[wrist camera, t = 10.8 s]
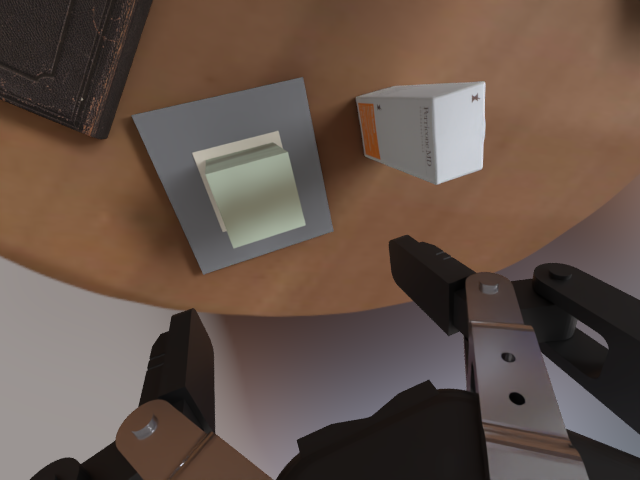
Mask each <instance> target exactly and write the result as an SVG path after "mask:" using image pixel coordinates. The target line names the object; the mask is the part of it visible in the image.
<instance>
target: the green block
mask: <svg viewBox="0 0 640 480" xmlns="http://www.w3.org/2000/svg"><path fill="white" fill-rule="evenodd" d="M205 175H206V178H207V180H208V183H209V186H210V188H211V191H212V193H213V196H214V199H215V201H216V204H217V207H218V209H219V212H220V214H221V217H222V220H223V222H224V225H225V227H226V230H227V233H228V235H229V238H230V241H231V243H232V246H233V248H237V247H240V246H243V245H246V244H249V243H252V242H255V241H259V240H262V239H265V238H268V237H271V236H274V235H277V234H280V233H283V232H286V231H289V230H292V229H296V228H299V227H302V226H305V225H306V224H305V220H304V216H303V212H302V208H301V204H300V199H299V195H298V191H297V187H296V183H295V179H294V175H293V171H292V167H291V163H290V159H289V155H288V152H287V151H286V150H284V149H283V148H281V147H279V146H278V145H276V144H275V143H273V142H272V143H268V144H265V145H261V146H257V147H253V148H249V149H246V150H242V151H238V152H234V153H230V154H227V155H223V156H219V157H215V158H211V159H208V160H206V170H205Z"/></svg>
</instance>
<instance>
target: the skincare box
mask: <svg viewBox="0 0 640 480" xmlns="http://www.w3.org/2000/svg"><path fill="white" fill-rule="evenodd" d="M356 103H357V108H358V115H359V121H360V127H361V134H362V141H363V149H364V156H365V157H367V158H370V159H372V160H375V161H377V162H380V163H382V164H385V165H387V166H390V167H392V168H395V169H398V170H400V171H403V172H405V173H408V174H410V175H413V176H415V177H418V178H420V179H423V180H425V181H428V182H430V183H433V184H435V185H437V184H440V183H443V182H446V181H449V180H452V179H455V178H458V177H461V176H464V175H467V174H470V173H473V172H476V171H479V170H481V169H482V167H483V143H484V138H485V82H484V81H481V82H469V83H445V84H424V85H407V86H392V87H389V88H385V89H381V90H378V91H374V92H371V93H368V94H364V95H361V96H357V97H356Z"/></svg>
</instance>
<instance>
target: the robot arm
mask: <svg viewBox="0 0 640 480" xmlns="http://www.w3.org/2000/svg"><path fill="white" fill-rule="evenodd" d="M389 253H390V263H391V272H392V276H393V278H394V281H395V282H396V284H397V285H398V286H399V287H400V288H401V289H402V290H403V291H404V292H405V293H406V294H407V295H408V296H409V297H410V298H411V299H412V300H413V301H414V302H415V303H416V304H417V305H418V306H419V307H420V308H421V309H422V310H423V311H424V312H425V313H426V314H427V315H428V316H429V317H430V318H431V319H432V320H433V321H434V322H435V323H436V324H437V325H438V326H439V327H440V328H441V329H442V330H443V331H444V332H445V333H446V334H447V335H448V336H450V335H452V334H455V333H457V332H459V331H460V332H461V333H462V334H463V336H464V337H463V344H464V360H465V373H466V391H465V390H459V389H438V390H437V389H436V388H435V387H434V386H433V384H432V383H431V382H430V380H427V381H425V382H423V383H421V384H418V385H416V386H414V387H412V388H409V389H407V390H405V391H403V392H401V393H399V394H397V395H396V396H395V397H394V398H393V399H391V400H390V401H389V402H388V403H387V404H386V405H384V406H383V407H382V408H381V409H380V410H378V412H376V413H375V414H374V415H372V416H371V417H368V418H364V419H358V420H352V421H346V422H341V423H335V424H331V425H329V426H326V427H324V428H322V429H320V430H318V431H315V432H313V433H311V434H309V435H306V436H305V437H302V438H300V439H298V440H297V443H298V447H299V451H300V453H299V454H297V455H296V456H295V457H294V458H293V459H292V460H291V461H290V462H289V463H288V464H287V465H286V466H285V468H284V469H283V470H282V471H281V473H280V474H279V476H278V477H277V479H276V480H640V458H638V457H636V456H633V455H631V454H628V453H626V452H623V451H621V450H618V449H616V448H613V447H611V446H608V445H606V444H603V443H601V442H598V441H596V440H593V439H591V438H588V437H585V436H583V435H580V434H578V433H575V432H573V431H570V430H568V429H566V428H565V425H564V422H563V419H562V416H561V412H560V409H559V406H558V403H557V400H556V397H555V394H554V391H553V388H552V385H551V381H550V378H549V375H548V372H547V369H546V366H545V363H544V360H543V357H542V354H541V352H542V353H543V354H544V355H545V356H546V357H548V358H549V359H550V360H551V361H552V362H554V363H555V364H556V365H557V366H558V367H560V368H561V369H562V370H563V371H564V372H566V373H567V374H568V375H569V376H570V377H572V378H573V379H574V380H575V381H576V382H578V383H579V384H580V385H581V386H582V387H584V388H585V389H586V390H587V391H588V392H589V393H591V394H592V395H593V396H594V397H596V398H597V399H598V400H599V401H600V402H602V403H603V404H604V405H605V406H606V407H607V408H609V409H610V410H611V411H612V412H613V413H615V414H616V415H617V416H618V417H619V418H621V419H622V420H623V421H624V422H625V423H627V424H628V425H629V426H630V427H631V428H633V429H634V430H635V431H636V432H637V433H639V434H640V300H638V299H636V298H634V297H633V296H631V295H628V294H626V293H625V292H623V291H621V290H619V289H617V288H615V287H613V286H611V285H609V284H607V283H605V282H603V281H601V280H599V279H597V278H595V277H593V276H591V275H589V274H587V273H585V272H583V271H581V270H579V269H577V268H575V267H572V266H569V265H565V264H560V263H547V264H542V265H539V266H538V267H536V268H535V270H534V274H533V279H526V280H519V281H510V280H508V279H507V278H506V277H504V276H502V275H499V274H495V273H490V272H480V273H476V272H474V271H473V270H471V269H470V268H468V267H467V266H465V265H464V264H462V263H461V262H459V261H458V260H456V259H454V258H453V257H452V258H451V256H450V255H448V254H447V253H445V252H443V251H442V250H441V249H439V248H438V247H436V246H435V245H432V244H428V243H425V242H420V243H419V242H418V241H416V240H415V239H413V238H412V237H410V236H409V235H404V236H401V237H399V238H396V239H393V240H390V241H389ZM577 320H579V321H581V322H582V323H584V324H585V325H587V326H589V327H590V328H592V329H593V330H595V331H596V332H598V333H599V334H600V335H601V336H602V337H603V338H604V339H605V340H606V342H607V344H608V347H609V350H608V349H607V348H605V347H604V346H602V345H601V344H599V343H598V342H597V341H595V340H594V339H592V338H591V337H589V336H588V335H586V334H585V333H583V332H582V331H580V330H579V329H577V328H576V324H577ZM147 368H148V371H147V372H146V376H145V381H144V385H143V389H142V393H141V398H140V402H139V406H138V408H137V409H136V410H134V411H133V412H132V413H131V414H130V415H129V416H128V417H127V418H126V419H125V420H124V422H123V423H122V425H121V426H120V428H119V430H118V432H117V435H116V440H115V441H114V442H113V443H111V444H110V445H108V446H107V447H106V448H104V449H103V450H101V451H100V452H98V453H97V454H95V455H94V456H92V457H91V458H89V459H88V460H86V461H85V462H83V463H82V464H80V463H79V462H78V461H77V460H76V459H74V458H62V459H59V460H57V461H54V462H52V463H50V464H49V465H47V466H46V467H44V468H43V469H41V470H40V471H39V472H38V473H37V474H35V475H34V476H33V477H32V478H31V479H30V480H273V479H272V478H271V477H269V476H268V475H267V474H265V473H264V472H263V471H262V470H260V469H259V468H258V467H257V466H255V465H254V464H253V463H252V462H250V461H249V460H248V459H247V458H245V457H244V456H243V455H242V454H240V453H239V452H238V451H237V450H235V449H234V448H233V447H231V446H230V445H229V444H228V443H226V442H225V441H224V440H222V439H221V438H220V437H219V436H218V435H216V434H215V395H214V352H213V346H212V344H211V340H210V338H209V336H208V334H207V332H206V330H205V328H204V326H203V324H202V322H201V320H200V318H199V316H198V314H197V312H196V310H195V309H194V308H192V309H189V310H187V311H184V312H181V313H178V314H175V315H173V316H172V317H171V322H170V328H169V331H168V332H165V333H162V334H160V336H159V337H158V339H157V340H156V342H155V343H154V345H153V346H152V350H151V354H150V361H149V363H148V367H147Z"/></svg>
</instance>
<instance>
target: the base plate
mask: <svg viewBox="0 0 640 480" xmlns="http://www.w3.org/2000/svg"><path fill="white" fill-rule="evenodd" d="M131 116H132V118H133V120H134V122H135V124H136V127H137V129H138V131H139V133H140V136H141V138H142V140H143V142H144V144H145V147H146V149H147V151H148V153H149V155H150V158H151V160H152V162H153V164H154V166H155V169H156V171H157V173H158V175H159V178H160V180H161V182H162V184H163V186H164V189H165V191H166V193H167V195H168V197H169V200H170V202H171V204H172V206H173V208H174V211H175V213H176V215H177V217H178V219H179V222H180V224H181V226H182V228H183V231H184V233H185V235H186V237H187V239H188V242H189V244H190V246H191V248H192V250H193V253H194V255H195V257H196V259H197V261H198V264H199V266H200V268H201V270H202V273H203V274H206V273H209V272H212V271H215V270H218V269H221V268H224V267H227V266H230V265H233V264H236V263H239V262H242V261H245V260H248V259H251V258H254V257H257V256H260V255H263V254H266V253H269V252H272V251H275V250H278V249H281V248H284V247H287V246H290V245H293V244H296V243H299V242H302V241H305V240H309V239H312V238H315V237H318V236H321V235H324V234H327V233H330V232H333V226H332V221H331V216H330V211H329V206H328V201H327V196H326V191H325V186H324V181H323V176H322V171H321V166H320V161H319V156H318V151H317V145H316V140H315V135H314V130H313V125H312V120H311V115H310V110H309V105H308V100H307V95H306V90H305V85H304V80H303V77H301V78H297V79H292V80H288V81H283V82H279V83H274V84H270V85H265V86H261V87H256V88H252V89H248V90H243V91H239V92H234V93H230V94H225V95H221V96H216V97H212V98H207V99H203V100H198V101H194V102H189V103H185V104H180V105H176V106H171V107H167V108H162V109H158V110H153V111H149V112H144V113H140V114H135V115H131ZM272 142H273V143H275V144H276V145H278V146H279V147H281V148H283V149H284V150H286V151H287V152H288V155H289V159H290V163H291V167H292V171H293V175H294V179H295V183H296V187H297V191H298V195H299V199H300V204H301V208H302V212H303V216H304V220H305V224H306V225H305V226H302V227H299V228H296V229H292V230H289V231H286V232H283V233H280V234H277V235H274V236H271V237H268V238H265V239H262V240H259V241H255V242H252V243H249V244H246V245H243V246H240V247H237V248H233V246H232V243H231V241H230V238H229V235H228V233H227V230H226V227H225V225H224V222H223V220H222V217H221V214H220V212H219V209H218V207H217V204H216V201H215V199H214V196H213V193H212V191H211V188H210V186H209V183H208V180H207V178H206V175H205V170H206V160H208V159H211V158H215V157H219V156H223V155H227V154H230V153H234V152H238V151H242V150H246V149H249V148H253V147H257V146H261V145H265V144H268V143H272Z"/></svg>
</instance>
